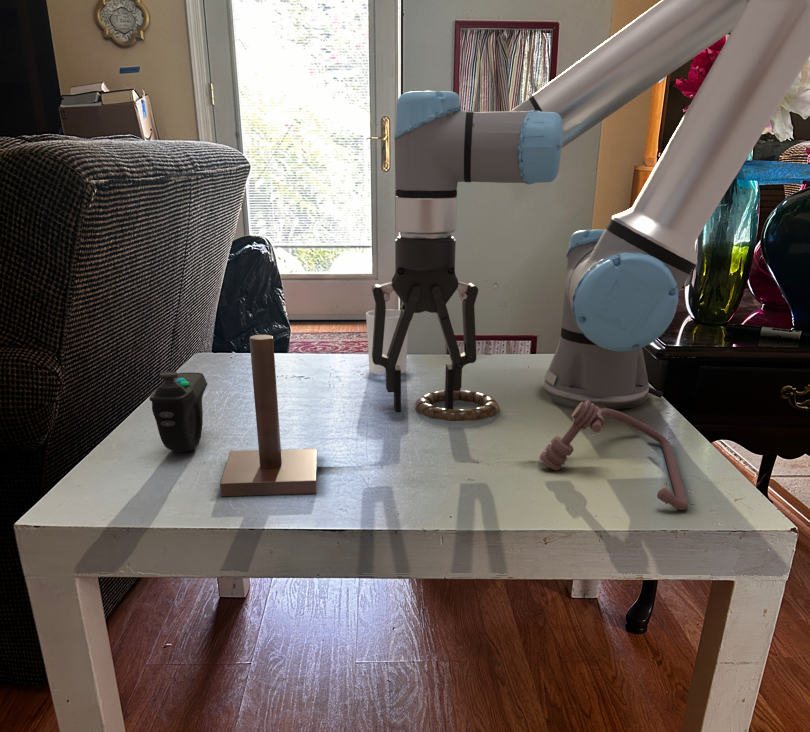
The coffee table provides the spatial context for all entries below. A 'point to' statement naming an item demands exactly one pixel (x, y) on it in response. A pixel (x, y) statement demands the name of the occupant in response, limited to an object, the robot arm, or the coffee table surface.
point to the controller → (179, 409)
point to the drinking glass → (385, 340)
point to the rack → (268, 441)
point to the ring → (487, 410)
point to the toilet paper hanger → (593, 417)
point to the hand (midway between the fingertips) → (423, 414)
